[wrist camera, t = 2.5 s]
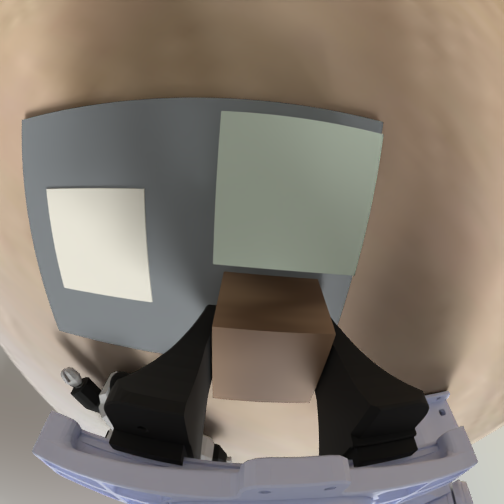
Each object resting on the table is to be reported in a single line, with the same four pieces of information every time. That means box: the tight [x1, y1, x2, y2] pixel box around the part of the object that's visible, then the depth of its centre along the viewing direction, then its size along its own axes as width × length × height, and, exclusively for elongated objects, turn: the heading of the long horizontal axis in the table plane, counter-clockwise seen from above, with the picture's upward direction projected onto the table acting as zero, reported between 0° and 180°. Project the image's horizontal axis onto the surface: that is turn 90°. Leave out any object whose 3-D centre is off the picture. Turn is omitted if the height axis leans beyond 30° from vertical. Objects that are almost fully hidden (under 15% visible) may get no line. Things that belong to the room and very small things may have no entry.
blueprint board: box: [22, 98, 383, 354], centre depth 13 cm, size 18×14×1 cm
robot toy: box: [61, 367, 232, 463], centre depth 18 cm, size 12×4×15 cm
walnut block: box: [212, 272, 336, 403], centre depth 12 cm, size 4×4×4 cm
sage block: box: [213, 111, 384, 276], centre depth 9 cm, size 4×4×4 cm
